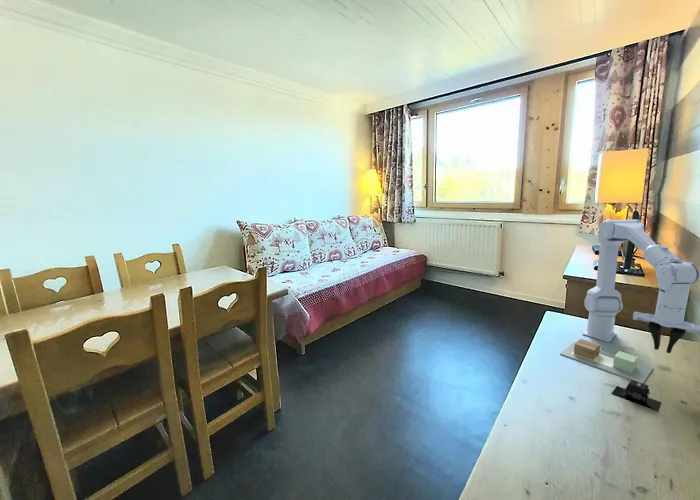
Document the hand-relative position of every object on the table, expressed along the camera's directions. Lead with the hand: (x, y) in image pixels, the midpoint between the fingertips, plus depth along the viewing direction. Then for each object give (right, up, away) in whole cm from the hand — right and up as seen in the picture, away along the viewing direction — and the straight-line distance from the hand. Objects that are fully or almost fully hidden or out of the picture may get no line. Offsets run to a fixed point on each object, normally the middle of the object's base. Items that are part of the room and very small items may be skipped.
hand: (662, 350), depth 90 cm
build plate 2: (-12, -12, -5) cm, 18 cm away
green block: (-4, -8, +8) cm, 12 cm away
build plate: (-7, -7, +12) cm, 16 cm away
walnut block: (-10, -6, +16) cm, 20 cm away
